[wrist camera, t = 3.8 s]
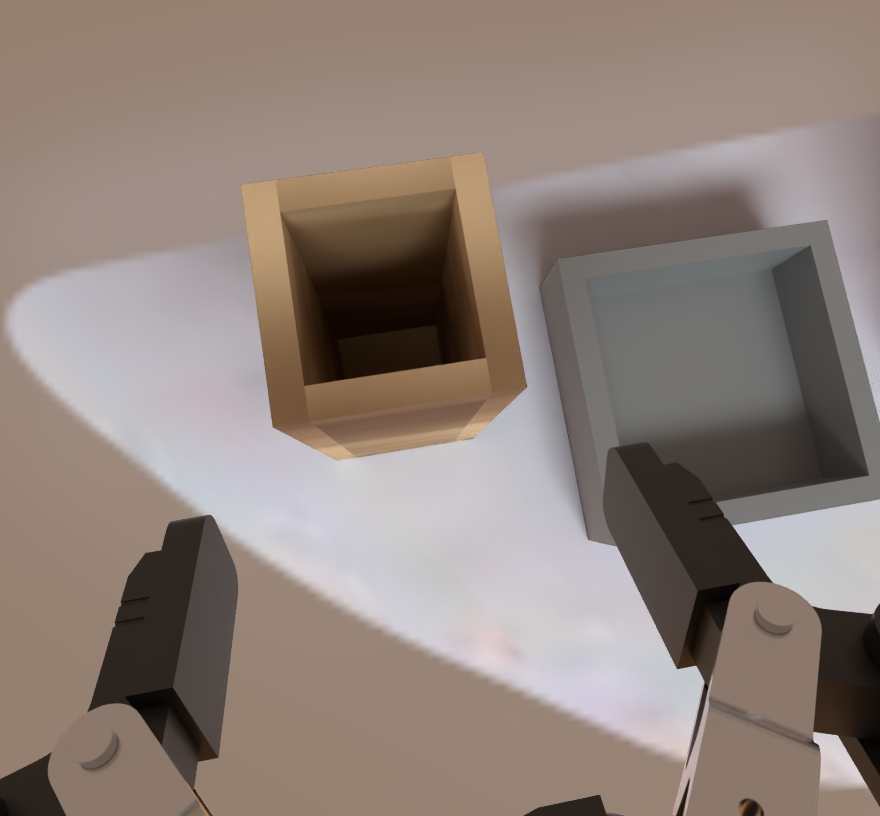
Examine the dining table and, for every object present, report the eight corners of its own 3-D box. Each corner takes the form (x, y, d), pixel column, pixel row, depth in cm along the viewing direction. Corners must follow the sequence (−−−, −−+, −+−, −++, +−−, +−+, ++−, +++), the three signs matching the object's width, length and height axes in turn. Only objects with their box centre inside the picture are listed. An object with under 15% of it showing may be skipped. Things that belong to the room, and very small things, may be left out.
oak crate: (318, 328, 24) (240, 184, 13) (450, 308, 24) (483, 152, 13) (337, 460, 23) (272, 426, 12) (472, 438, 23) (526, 386, 13)
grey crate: (539, 287, 24) (557, 258, 21) (777, 253, 25) (826, 219, 22) (588, 539, 23) (614, 546, 20) (837, 496, 24) (898, 495, 21)
